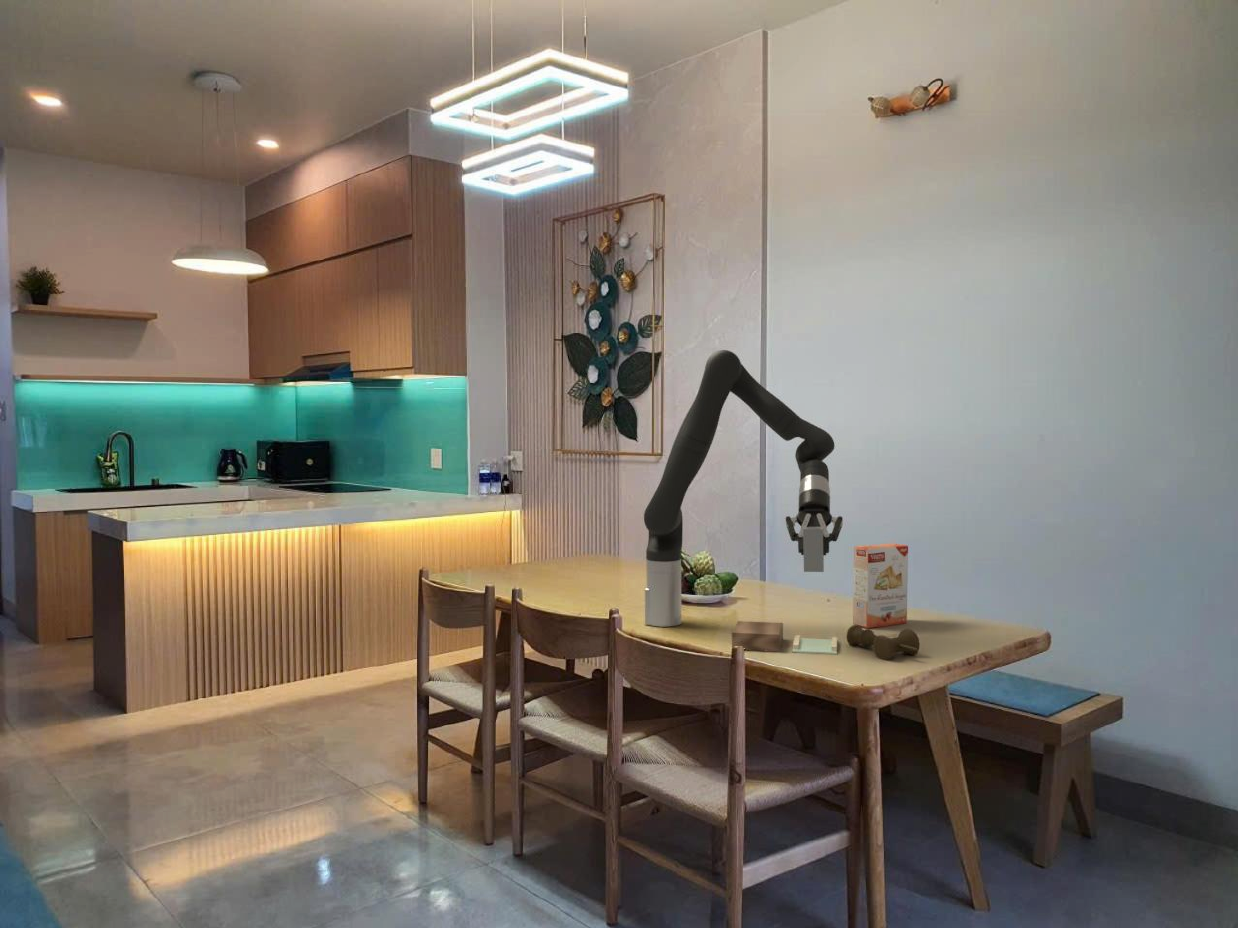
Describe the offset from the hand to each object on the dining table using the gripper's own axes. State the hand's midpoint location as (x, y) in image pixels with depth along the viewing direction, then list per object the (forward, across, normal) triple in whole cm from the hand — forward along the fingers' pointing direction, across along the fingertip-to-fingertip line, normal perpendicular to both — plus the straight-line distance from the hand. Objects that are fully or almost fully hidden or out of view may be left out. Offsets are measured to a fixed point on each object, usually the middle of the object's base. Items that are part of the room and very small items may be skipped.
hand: (813, 552), depth 219 cm
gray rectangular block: (+2, 0, +4) cm, 5 cm away
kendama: (+17, +16, +16) cm, 28 cm away
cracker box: (-5, +16, +38) cm, 41 cm away
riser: (+15, -14, +17) cm, 26 cm away
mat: (+15, 0, +17) cm, 23 cm away
